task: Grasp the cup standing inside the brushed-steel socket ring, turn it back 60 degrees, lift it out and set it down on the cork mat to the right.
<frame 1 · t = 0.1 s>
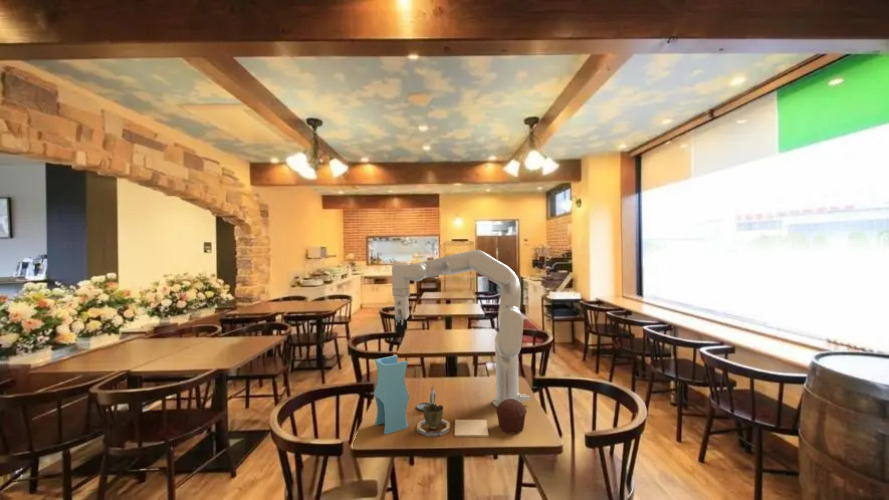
hand: (401, 331, 169), 31 cm above the table, fingers open, 9 cm apart
socket ring: (433, 428, 146), on the table
pocket watch: (427, 408, 164), on the table
cup: (433, 429, 146), on the table
vase: (392, 426, 149), on the table
cork mat: (471, 428, 145), on the table
muffin: (511, 428, 145), on the table
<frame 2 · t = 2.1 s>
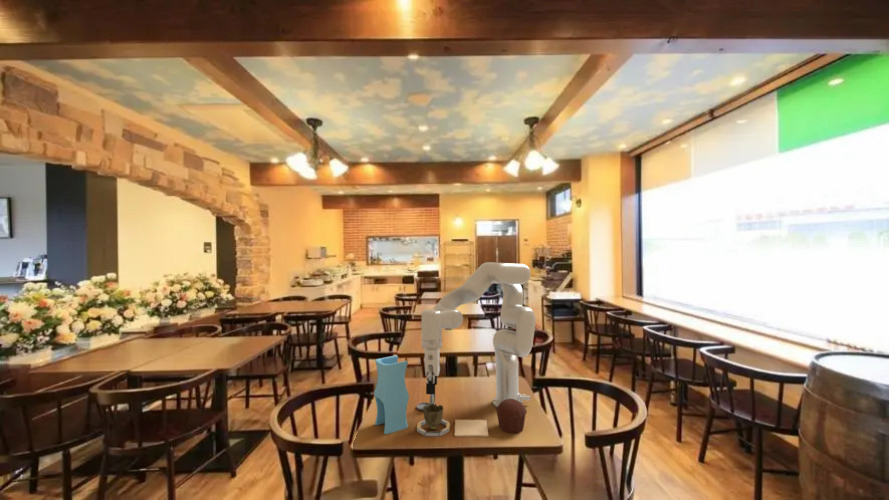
hand: (431, 389, 145), 15 cm above the table, fingers open, 9 cm apart
nothing on the table moved.
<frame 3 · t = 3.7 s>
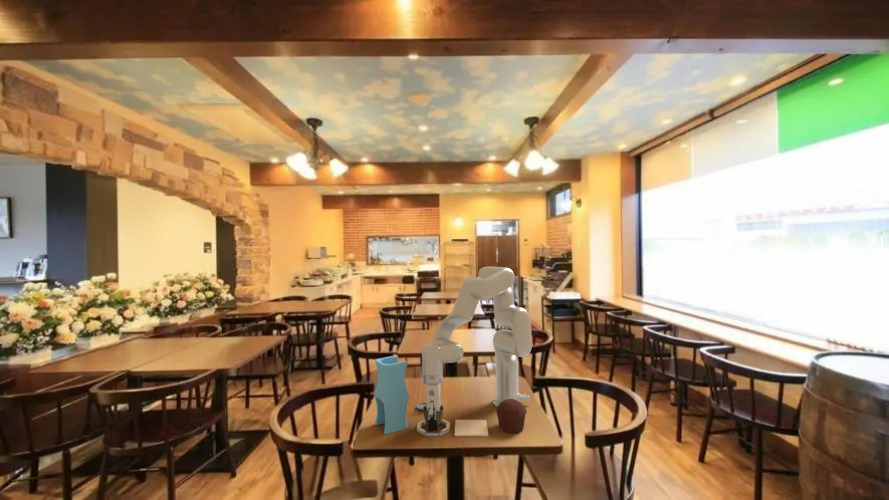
hand: (433, 424, 146), 1 cm above the table, fingers closed on cup, 6 cm apart
cup: (433, 429, 146), on the table, touching gripper
everything else where it was.
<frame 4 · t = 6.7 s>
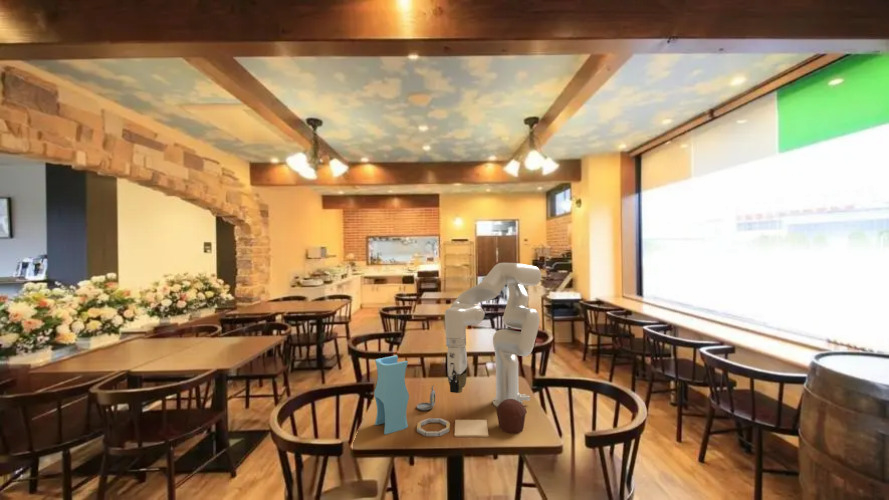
hand: (457, 388, 146), 15 cm above the table, fingers closed on cup, 6 cm apart
cup: (457, 392, 146), point 13 cm above the table, touching gripper
everything else where it was.
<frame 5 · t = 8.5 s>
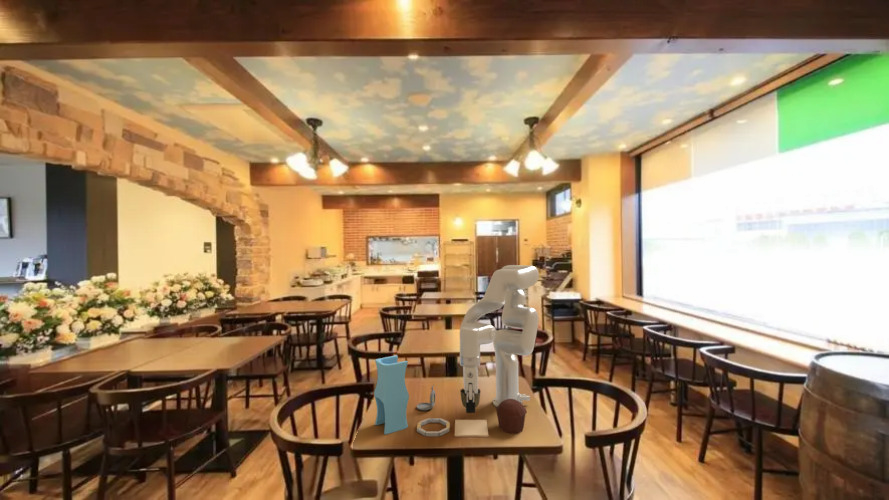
hand: (470, 408, 145), 8 cm above the table, fingers closed on cup, 6 cm apart
cup: (470, 412, 145), point 6 cm above the table, touching gripper
everything else where it was.
when the fingers open (3 cm above the table, at t = 10.0 s): cup stays where it is, resting on cork mat.
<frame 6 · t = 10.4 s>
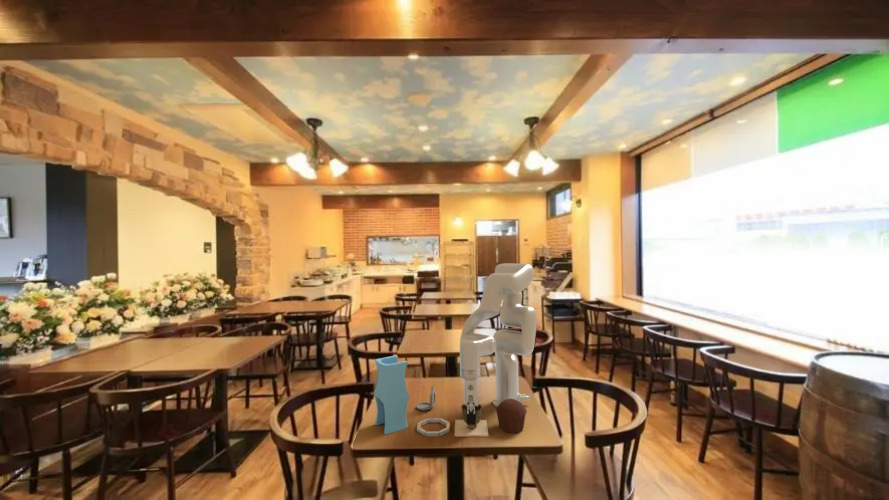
hand: (471, 418, 145), 4 cm above the table, fingers open, 9 cm apart
cup: (471, 428, 145), resting on cork mat
everything else where it was.
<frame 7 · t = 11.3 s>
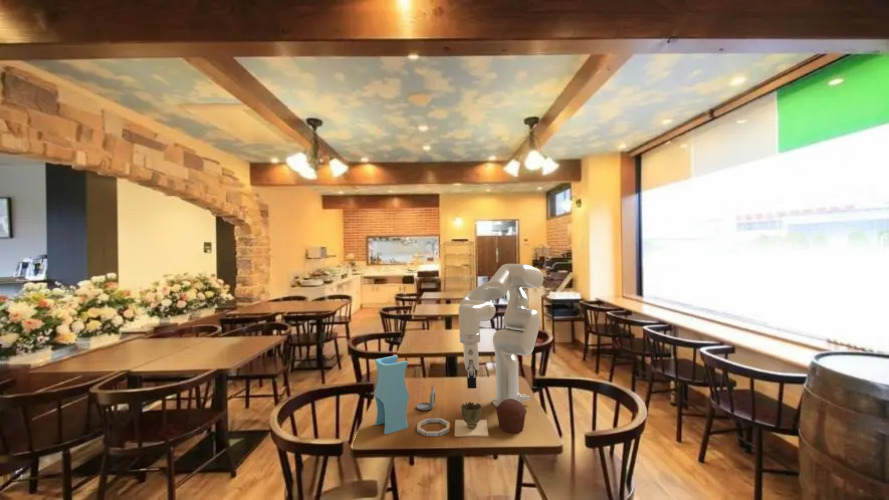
hand: (471, 382, 146), 17 cm above the table, fingers open, 9 cm apart
nothing on the table moved.
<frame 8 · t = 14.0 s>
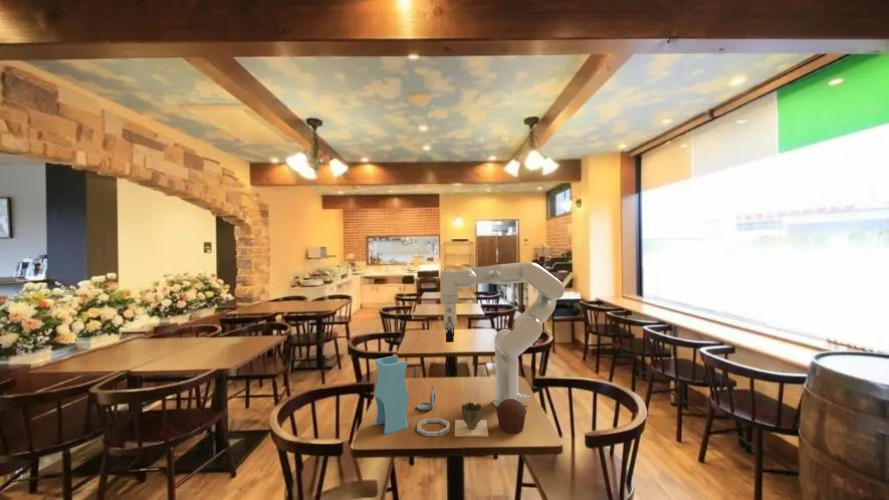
hand: (450, 339, 166), 28 cm above the table, fingers open, 9 cm apart
nothing on the table moved.
at the end: cup 0.5 cm from the cork mat (horizontally); cup on the table; the gripper is holding nothing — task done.
